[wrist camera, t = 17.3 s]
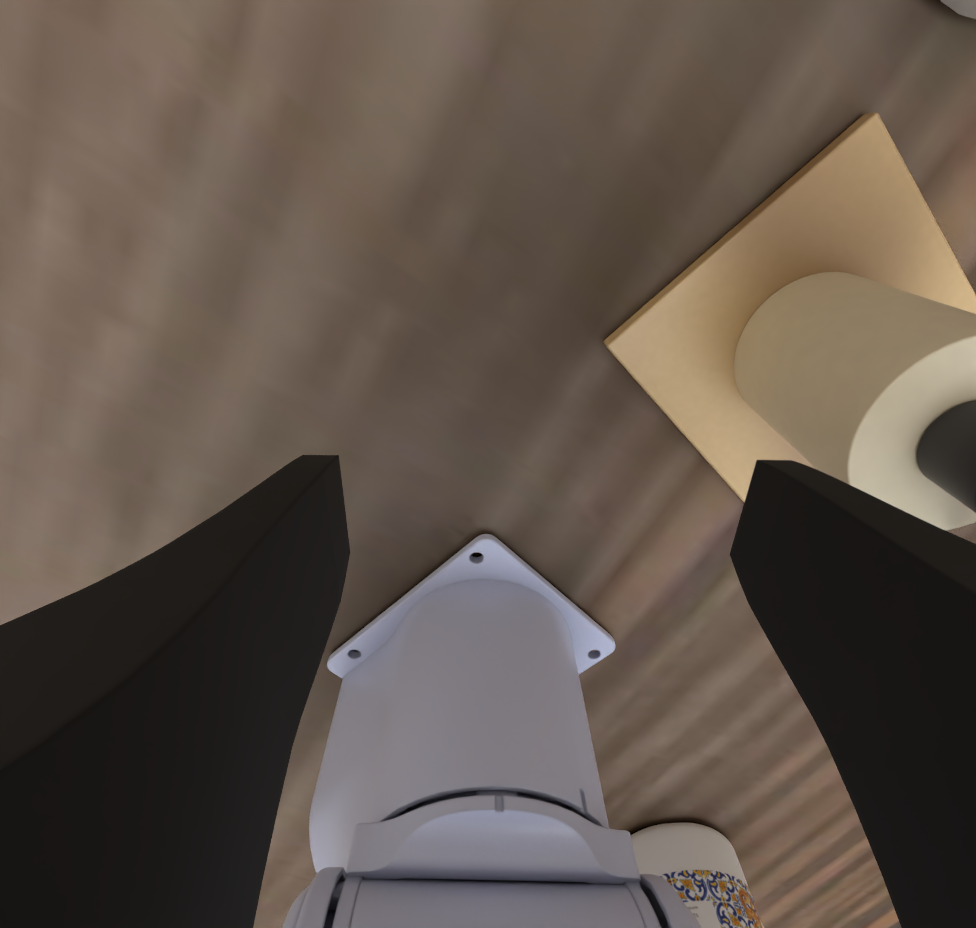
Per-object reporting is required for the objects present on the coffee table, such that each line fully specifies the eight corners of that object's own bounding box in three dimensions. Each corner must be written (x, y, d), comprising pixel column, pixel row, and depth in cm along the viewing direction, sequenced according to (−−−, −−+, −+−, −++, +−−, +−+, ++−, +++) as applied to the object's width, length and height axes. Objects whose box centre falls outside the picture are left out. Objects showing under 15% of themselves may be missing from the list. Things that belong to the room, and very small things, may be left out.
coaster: (752, 511, 22) (759, 520, 21) (602, 341, 18) (605, 346, 18) (993, 347, 19) (1008, 352, 18) (864, 112, 16) (878, 111, 15)
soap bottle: (720, 306, 17) (895, 416, 10) (887, 246, 17) (1202, 318, 9) (748, 453, 20) (905, 626, 13) (895, 405, 19) (1150, 560, 12)
